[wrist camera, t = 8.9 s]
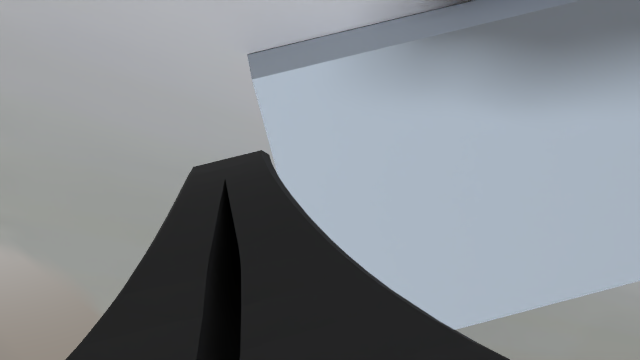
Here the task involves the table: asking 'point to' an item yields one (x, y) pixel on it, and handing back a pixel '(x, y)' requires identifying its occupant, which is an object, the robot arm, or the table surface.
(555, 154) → the light blue flat slab
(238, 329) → the robot arm
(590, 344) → the table surface
